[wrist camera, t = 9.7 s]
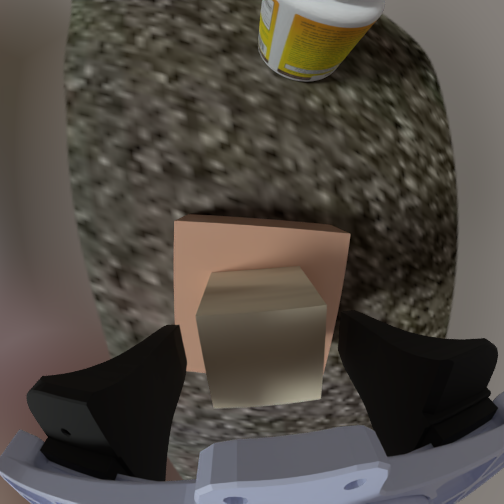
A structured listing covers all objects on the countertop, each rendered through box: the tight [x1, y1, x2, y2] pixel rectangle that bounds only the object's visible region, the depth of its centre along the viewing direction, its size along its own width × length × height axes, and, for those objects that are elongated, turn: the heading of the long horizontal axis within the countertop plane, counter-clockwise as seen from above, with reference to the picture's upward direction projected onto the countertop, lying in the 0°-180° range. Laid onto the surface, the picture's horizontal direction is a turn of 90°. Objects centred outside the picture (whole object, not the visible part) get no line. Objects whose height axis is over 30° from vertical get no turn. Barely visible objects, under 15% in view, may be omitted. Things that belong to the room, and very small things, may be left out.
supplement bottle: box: [258, 0, 385, 82], centre depth 9 cm, size 6×6×10 cm
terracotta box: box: [174, 214, 351, 373], centre depth 16 cm, size 9×9×4 cm
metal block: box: [196, 266, 327, 408], centre depth 12 cm, size 4×4×5 cm
